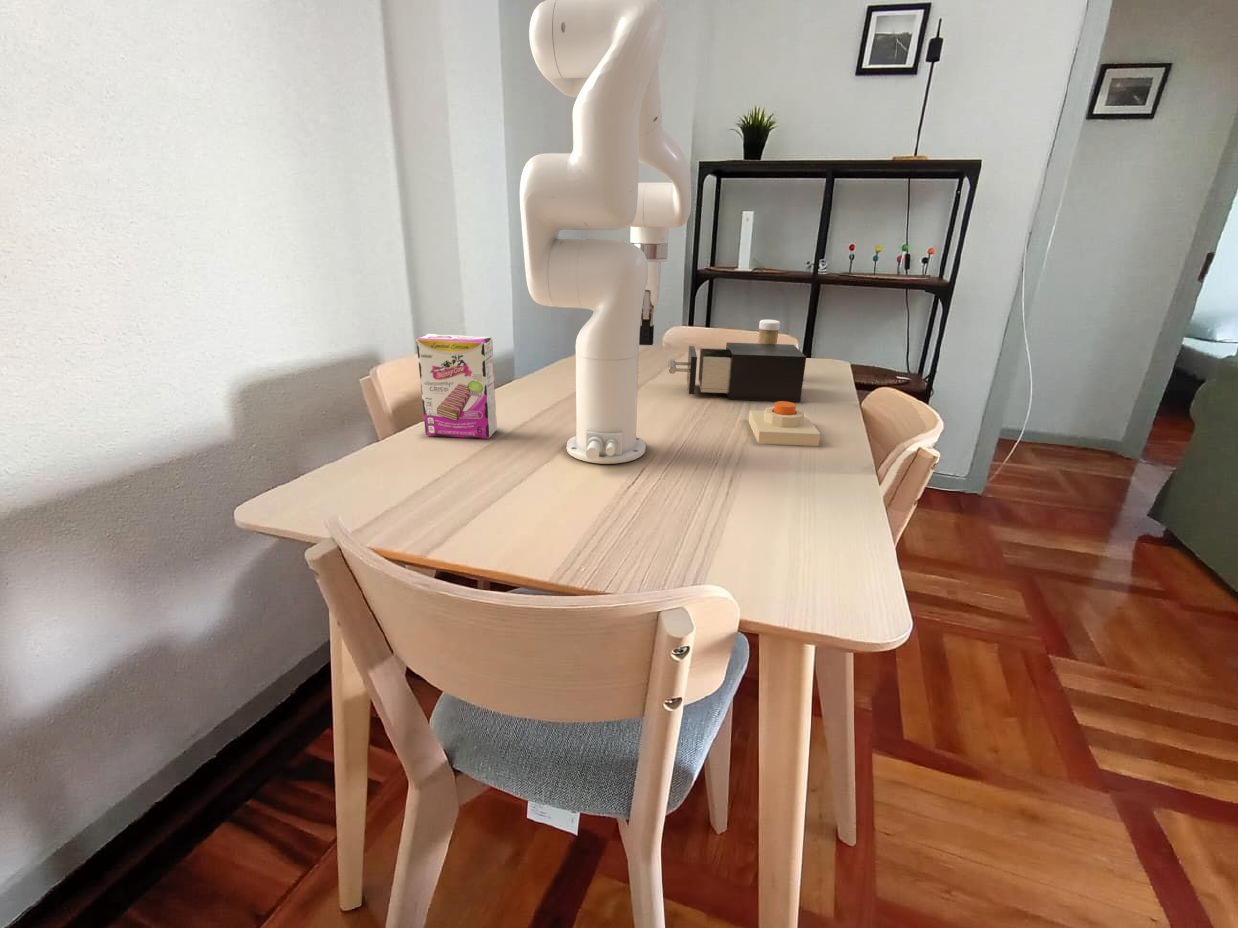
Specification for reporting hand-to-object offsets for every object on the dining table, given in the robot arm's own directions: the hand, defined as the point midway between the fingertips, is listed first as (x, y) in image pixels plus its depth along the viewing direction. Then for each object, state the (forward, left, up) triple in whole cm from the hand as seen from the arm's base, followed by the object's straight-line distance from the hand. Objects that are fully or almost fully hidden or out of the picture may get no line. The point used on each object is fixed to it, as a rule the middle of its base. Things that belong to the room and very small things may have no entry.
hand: (645, 344), depth 129 cm
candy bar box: (-33, +30, -10) cm, 46 cm away
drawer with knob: (0, -14, -9) cm, 17 cm away
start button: (-26, -25, -6) cm, 37 cm away
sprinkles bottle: (+14, -28, -10) cm, 33 cm away
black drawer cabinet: (0, -25, -10) cm, 27 cm away
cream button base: (-26, -25, -10) cm, 38 cm away
